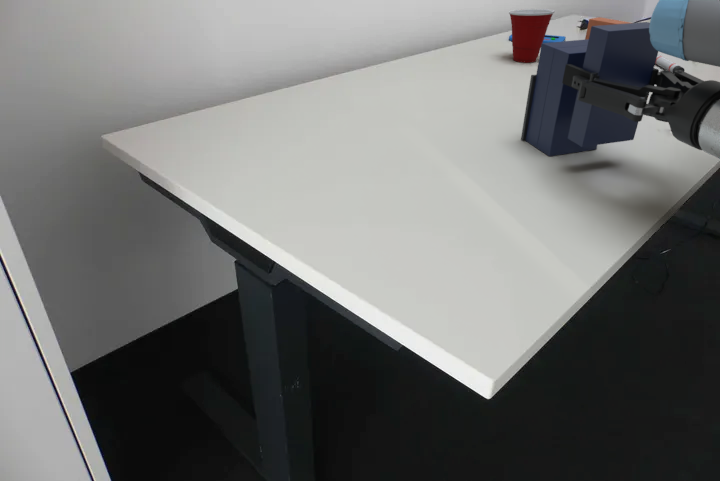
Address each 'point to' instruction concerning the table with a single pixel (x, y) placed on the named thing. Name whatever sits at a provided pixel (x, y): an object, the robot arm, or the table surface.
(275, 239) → the table surface
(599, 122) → the navy book
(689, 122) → the robot arm
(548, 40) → the handheld gaming device
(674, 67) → the marker
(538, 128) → the navy books
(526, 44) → the plastic cup
